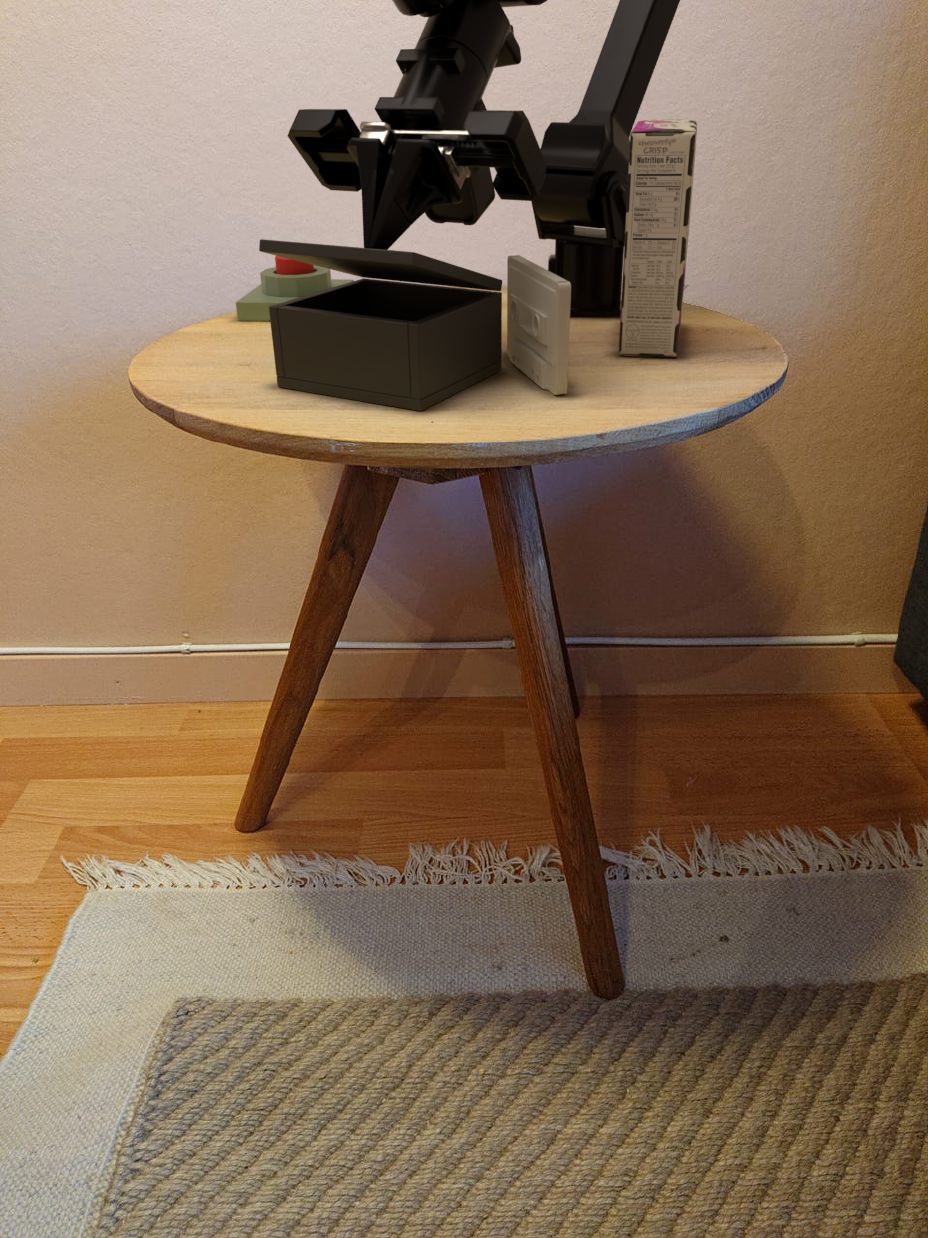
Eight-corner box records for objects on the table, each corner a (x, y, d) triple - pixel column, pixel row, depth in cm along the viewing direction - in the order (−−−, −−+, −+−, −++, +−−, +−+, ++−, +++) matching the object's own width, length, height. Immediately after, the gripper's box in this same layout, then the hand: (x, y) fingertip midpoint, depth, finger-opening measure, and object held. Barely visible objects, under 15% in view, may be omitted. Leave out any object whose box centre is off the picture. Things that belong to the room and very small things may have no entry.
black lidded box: (421, 411, 66) (417, 324, 63) (277, 386, 71) (268, 306, 68) (501, 370, 74) (502, 291, 72) (367, 350, 80) (363, 277, 77)
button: (282, 271, 95) (280, 252, 94) (318, 271, 95) (316, 252, 94) (272, 278, 92) (270, 258, 91) (309, 278, 91) (308, 258, 91)
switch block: (269, 296, 100) (264, 260, 98) (354, 296, 99) (352, 260, 97) (237, 320, 90) (232, 281, 89) (332, 321, 90) (329, 281, 88)
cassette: (574, 394, 69) (579, 282, 65) (549, 397, 68) (552, 284, 64) (522, 353, 79) (523, 253, 75) (500, 355, 78) (500, 255, 74)
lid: (412, 265, 61) (414, 251, 61) (258, 251, 66) (259, 238, 66) (501, 291, 71) (503, 280, 71) (362, 277, 77) (363, 266, 77)
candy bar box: (622, 324, 87) (636, 118, 79) (679, 326, 86) (699, 118, 78) (614, 356, 77) (628, 126, 69) (677, 359, 76) (700, 126, 68)
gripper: (596, 154, 73) (526, 334, 70) (390, 148, 81) (321, 308, 78) (554, 29, 63) (471, 232, 60) (325, 37, 71) (243, 216, 69)
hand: (371, 253), depth 67 cm, fingers closed, pressing on lid
